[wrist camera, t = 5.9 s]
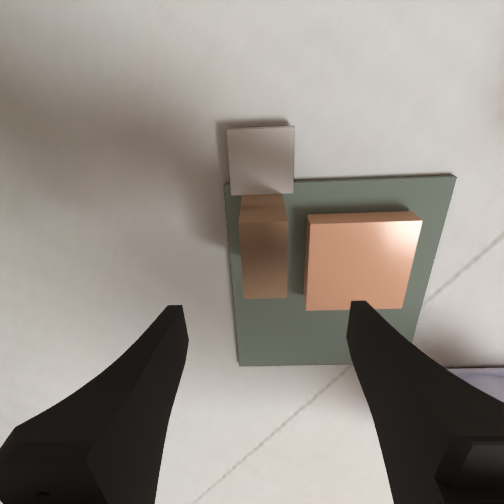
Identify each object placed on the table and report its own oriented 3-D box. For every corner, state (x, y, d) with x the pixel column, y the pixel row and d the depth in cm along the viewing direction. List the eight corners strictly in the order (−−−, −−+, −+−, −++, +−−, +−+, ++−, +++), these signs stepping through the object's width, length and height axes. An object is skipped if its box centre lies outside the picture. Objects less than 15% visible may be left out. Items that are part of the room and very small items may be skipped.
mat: (453, 175, 21) (456, 176, 20) (404, 359, 29) (405, 363, 29) (224, 183, 21) (223, 185, 21) (239, 362, 30) (239, 366, 29)
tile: (392, 293, 25) (410, 209, 22) (401, 308, 23) (422, 220, 20) (302, 295, 25) (306, 213, 22) (306, 310, 24) (310, 224, 20)
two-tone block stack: (290, 255, 24) (298, 297, 19) (236, 257, 24) (232, 299, 19) (293, 125, 19) (304, 141, 15) (226, 128, 19) (218, 144, 15)
